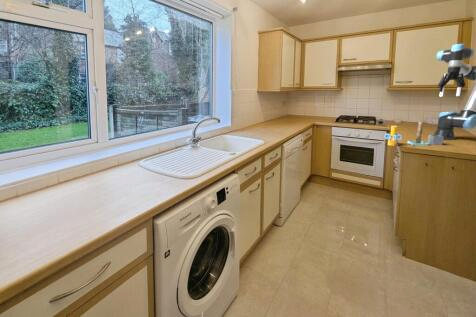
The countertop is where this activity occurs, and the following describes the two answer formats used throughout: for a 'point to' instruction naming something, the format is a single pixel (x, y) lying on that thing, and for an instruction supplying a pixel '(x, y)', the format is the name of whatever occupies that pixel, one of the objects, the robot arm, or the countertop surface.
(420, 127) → the dowel
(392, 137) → the yellow and blue toy
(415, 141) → the tray
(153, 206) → the countertop surface
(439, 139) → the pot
